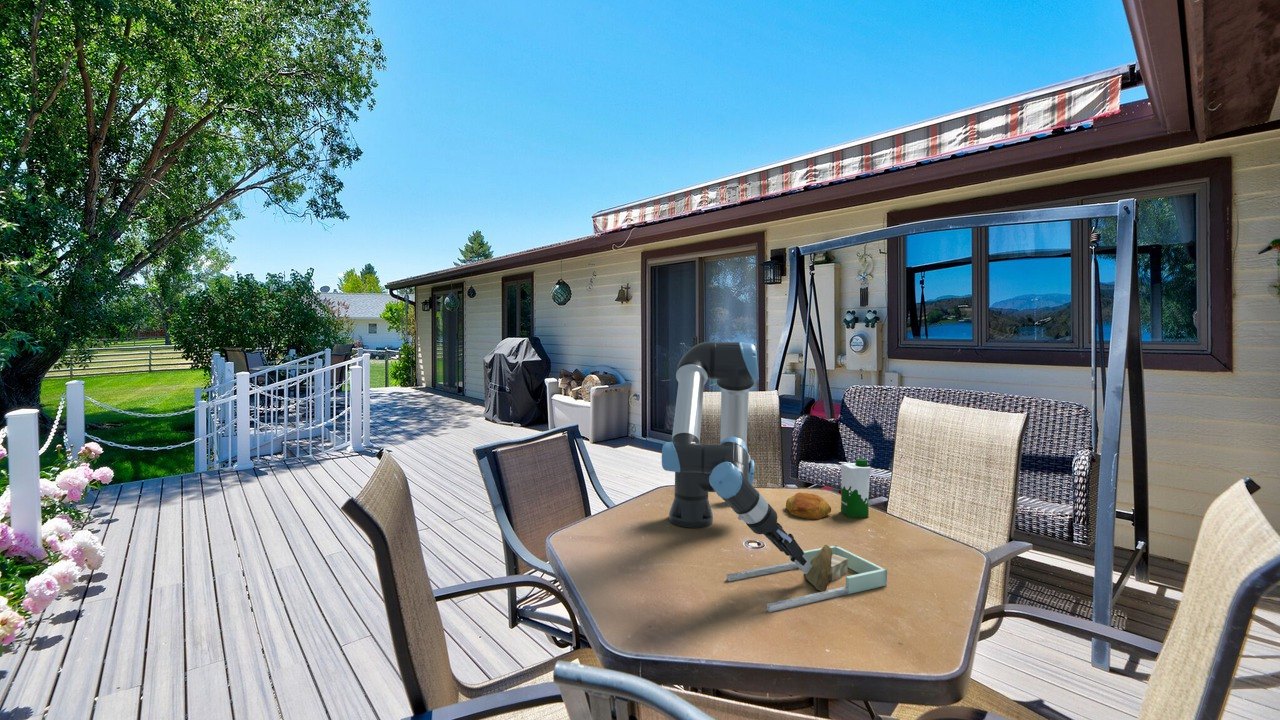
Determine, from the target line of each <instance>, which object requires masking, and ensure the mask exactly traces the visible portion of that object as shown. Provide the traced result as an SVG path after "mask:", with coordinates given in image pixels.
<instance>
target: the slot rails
mask: <svg viewBox="0 0 1280 720" xmlns="http://www.w3.org/2000/svg"><path fill="white" fill-rule="evenodd" d="M796 569H800V568H799V567H798V566H797V565H796V564H795V563H794V562H792V561H790V562H785V563H781V564H776V565H770V566H765V567H759V568H753V569H749V570H743V571H737V572H733V573H728V574H726V581H727V582H733V581H739V580H745V579H749V578H754V577H759V576H764V575H770V574H775V573H780V572H786V571H790V570H796ZM848 592H849V588H847V587H846V585H844V586H842V587H837V588H832V589H828V590H826V591H820V592H814V593H811V594H805V595H801V596H796V597H792V598H787V599H784V600H779V601H774V602H771V603H767V604H766V611H767V612H769V613H773V612H777V611H781V610H786V609H789V608H795V607H798V606H803V605H808V604H812V603H815V602H819V601H825V600H829V599H834V598H838V597H841V596H847V595H849V594H848Z"/></svg>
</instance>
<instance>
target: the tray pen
mask: <svg viewBox="0 0 1280 720" xmlns="http://www.w3.org/2000/svg"><path fill="white" fill-rule="evenodd" d="M829 547H830V548H831V549H832V555H833V554H835V555H838V556H841V557H844V558H847V559H848V566H847V569H850V570H852V571H854V572H856V573H857V574H852V575H848V576H846V577H845V586H846V587H847V588H849V592H848V594H847V595H850V594H855V593H858V592H860V593H861V592H863V591H867V590H871V589H873V590H874V589H876V588H880V587H885V586H887V585H888V584H887V583H888V581H887V580H888V569H885V568H884V567H882V566H880V565H878V564H875V563H873V562H872V561H870V560H867V559H865V558H863V557H861V556H858V555H857V554H855V553H853V552H850V551H849V550H847V549H845V548H842V547H840V546H838V545H830V546H829ZM822 548H823V547H819V548H814V549H808V550H803V552H804V554H803V556H804V557H805V558H806V559H807V560H808V561H809V562H811V560H812V559H813V558H814V557H815V556H816V555H817V553H818V552H819V551H820V550H821V549H822Z"/></svg>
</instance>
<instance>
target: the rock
mask: <svg viewBox="0 0 1280 720" xmlns="http://www.w3.org/2000/svg"><path fill="white" fill-rule="evenodd" d="M821 548H822V549H821V550H820V551H819V552H818V553H817V555H816V556H815V557H814V558H813V559H812V560H811V562H810V563H811V564H812V568H811V569H810V570H809V572H808V573H807V574H805V573H804V574H805V578H806V579H807V581H808V582H810V583H811V585H812V586H813V587H814V588H815V590H817V591H820V592H823V591H827V589H828V585H829V581H830V580H829V576H830V570H831V560H832V549H831V548H830V546H829V545H828V544H825V545H824V546H823V547H821Z"/></svg>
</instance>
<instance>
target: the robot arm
mask: <svg viewBox="0 0 1280 720" xmlns="http://www.w3.org/2000/svg"><path fill="white" fill-rule="evenodd" d="M757 353H758V352H757V347H756V345H755V344H754V343H751V342H742V341H739V342H738V341H737V342H736V341H735V342H734V341H733V342H732V341H730V342H727V341H724V342H723V341H722V342H721V341H704V342H700V343H698V344H696V345H693V347H691V348H690V349H689V350H687V351H686V352H685V353H684V355H683V356H682V357H681V359H680V360H679V362H678V364H677V366H676V367H677V368H676V373H675V380H677V382H678V385H677V392H676V393H677V394H676V401H675V409H674V418H673V427H672V433H671V435H672V436H671V441H668V442H667V441H666V442H663V444H662V448H661V468H662V469H663V470H664V471H667V472H673V473H674V494H673V495H674V497H673V501H672V503H671V507H670V509H669V513H668V521H669V522H670V523H671V524H673V525H675V526H678V527H681V528H688V529H689V528H690V529H691V528H692V529H694V528H695V529H696V528H698V529H699V528H705V527H708V526H711V525H712V524H713V522H714V513H713V511H712V507H711V504H710V501H709V493H716V495H717V496H719V498H721V499H722V500H723V501H724V502H725V503H726V504H727V505H728V506H729V507H730V508H731V510H732V511H733V512H735V514H737V515H738V516H737V520H739V521H741V520H742V521H743V522H744V523H745V524H746V526H747V527H748V528H749V529H750V530H751V531H752V532H753V533H754V534H756V535H763V536H765V537H766V539H768V540H769V541H770V542H771V544H772V545H773V546H775V547H776V548H777V549H778V550H779V551H780V552H781V553H784V554H785V556H788V557H789V559H790V562H794V563H795V564H796V565H797V566H798V567H799V568H798V569H799V570H800V571H801V572H802V573H804V574H807V573H808V572H809V570H810V569H811V568H812V564H811V563H810V562H809V561H808V560H807V559H806V558H805V557H804V556H803V554H804V552H803V551H804V550H803V549H802V547H801V546H800V545H799V543H798V542H797V541H796V540H795V537H794V535H793V534H792V533H787V531H785V530H784V529H783V526H782V525H781V524H780V523H779V522H778V514H777V511H776V510H775V508H773V507H772V505H770V503H769V502H768V501H767V500H766V499H765V497H764V496H763V495H762V494H761V493H760V492H759V491H758V490H757V489H756V488H755V487H754V486H753V483H754V477H755V468H756V467H755V461H754V459H752V458H751V455H750V454H749V453H748V445H747V444H748V443H747V441H748V440H747V439H748V438H747V437H748V421H749V419H748V416H749V414H748V413H749V395H750V393H749V391H750V390H751V389H752V388H753V387H754V386H755V382H757V381H759V379H760V377H759V365H758V357H757V356H758V355H757ZM708 380H716V385H717V387H718V388H720V389H721V394H720V433H719V435H720V439H719V441H720V443H719V444H716V443H715V444H712V443H701V432H702V431H701V430H702V419H703V418H702V415H703V414H702V413H703V401H704V386H705V385H706V383H707V381H708Z"/></svg>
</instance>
